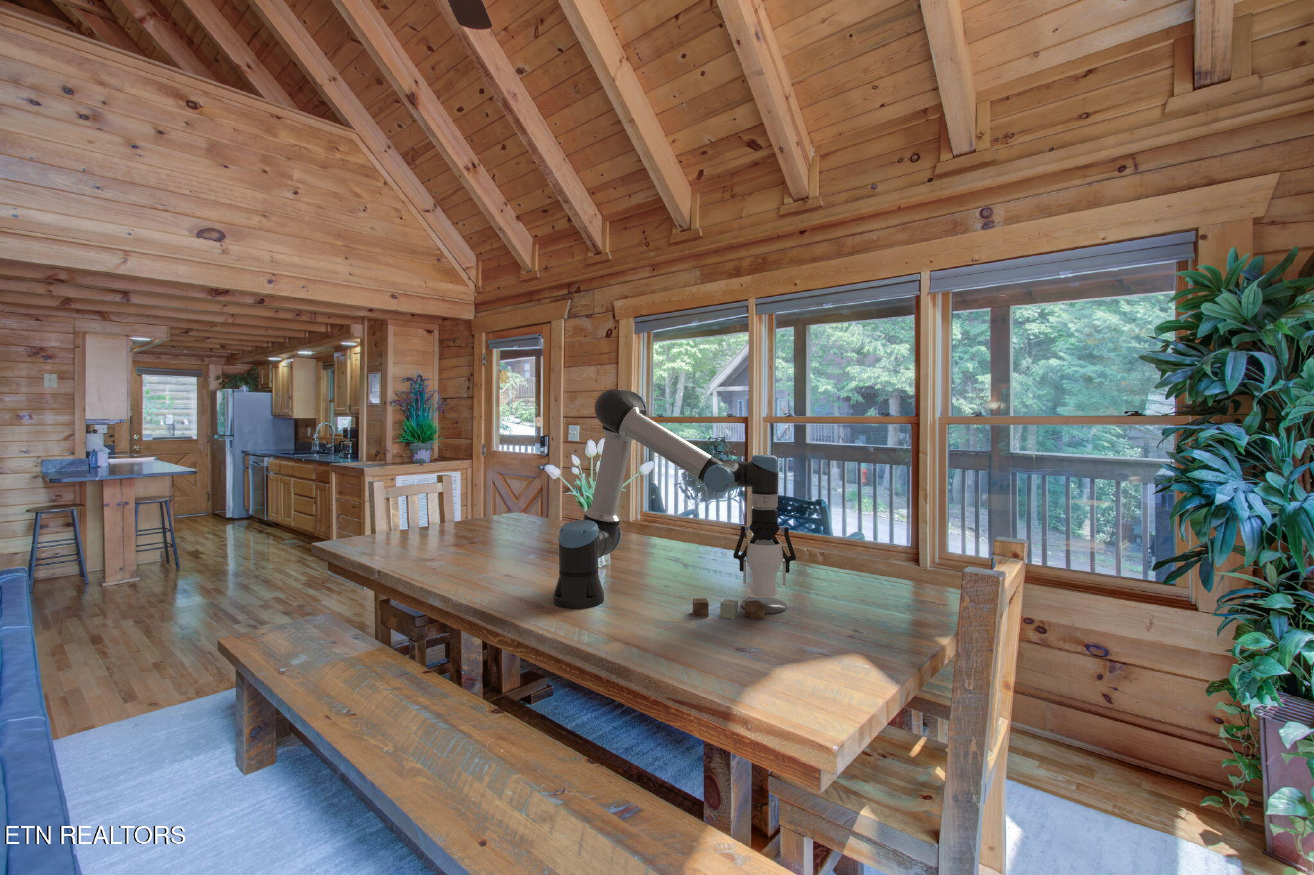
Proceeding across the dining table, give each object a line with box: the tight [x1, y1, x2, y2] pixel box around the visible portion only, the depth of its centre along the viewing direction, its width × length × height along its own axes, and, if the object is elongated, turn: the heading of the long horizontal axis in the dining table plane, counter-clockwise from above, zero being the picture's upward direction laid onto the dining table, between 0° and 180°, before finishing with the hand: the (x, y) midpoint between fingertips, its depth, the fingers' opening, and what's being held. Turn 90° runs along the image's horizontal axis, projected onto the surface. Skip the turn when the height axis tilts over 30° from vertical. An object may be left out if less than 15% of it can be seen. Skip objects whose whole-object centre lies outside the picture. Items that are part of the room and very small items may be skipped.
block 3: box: [744, 600, 766, 621], centre depth 162 cm, size 4×4×4 cm
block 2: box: [719, 598, 739, 620], centre depth 163 cm, size 4×4×4 cm
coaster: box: [740, 596, 787, 615], centre depth 171 cm, size 13×13×1 cm
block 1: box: [692, 597, 710, 618], centre depth 164 cm, size 4×4×4 cm
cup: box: [745, 539, 784, 598], centre depth 171 cm, size 11×11×15 cm
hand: (764, 583), depth 171 cm, fingers closed on cup, 11 cm apart
